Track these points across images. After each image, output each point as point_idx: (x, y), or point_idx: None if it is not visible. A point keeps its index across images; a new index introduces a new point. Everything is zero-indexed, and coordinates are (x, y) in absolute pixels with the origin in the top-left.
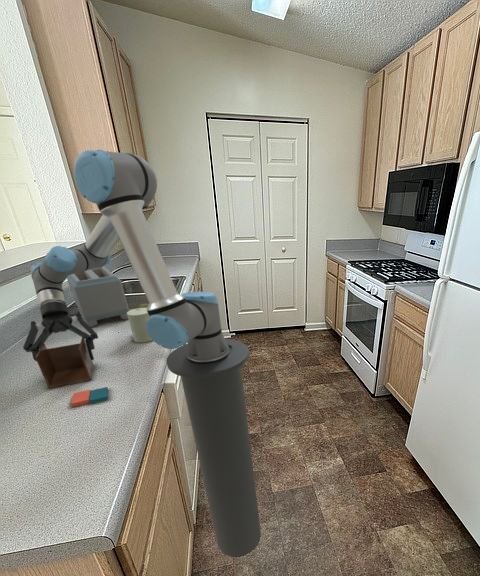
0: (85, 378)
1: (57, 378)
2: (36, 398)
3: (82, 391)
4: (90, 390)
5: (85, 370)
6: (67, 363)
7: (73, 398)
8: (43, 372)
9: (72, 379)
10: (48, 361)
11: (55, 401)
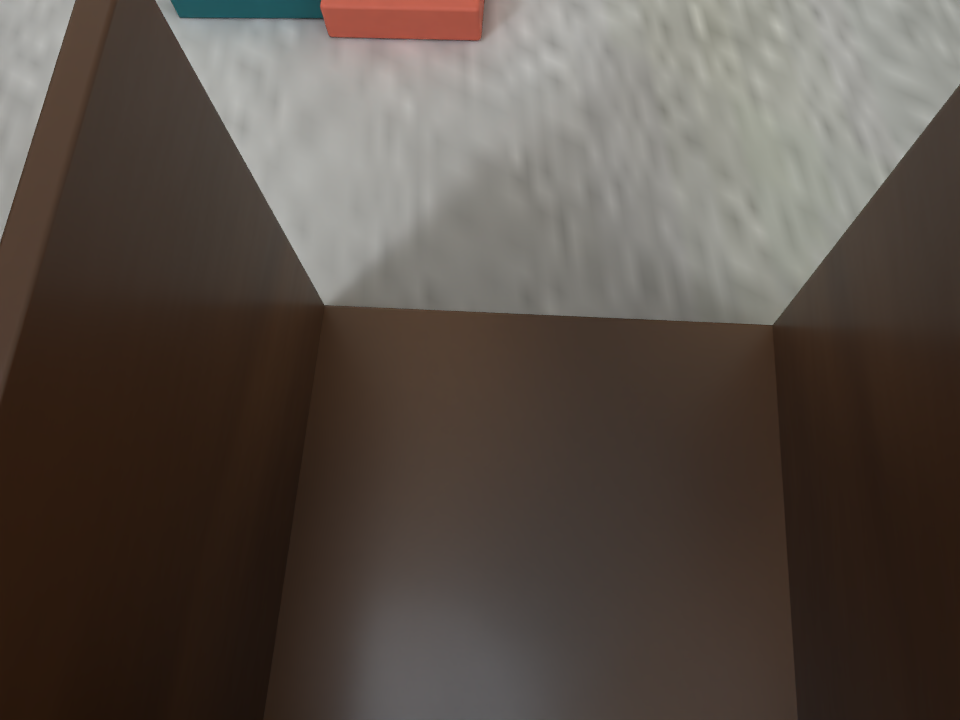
0: (361, 322)
1: (722, 523)
2: (867, 180)
3: (394, 4)
4: (321, 2)
5: (351, 595)
6: None
7: None
8: (864, 209)
9: (516, 377)
10: (916, 685)
11: (653, 36)
